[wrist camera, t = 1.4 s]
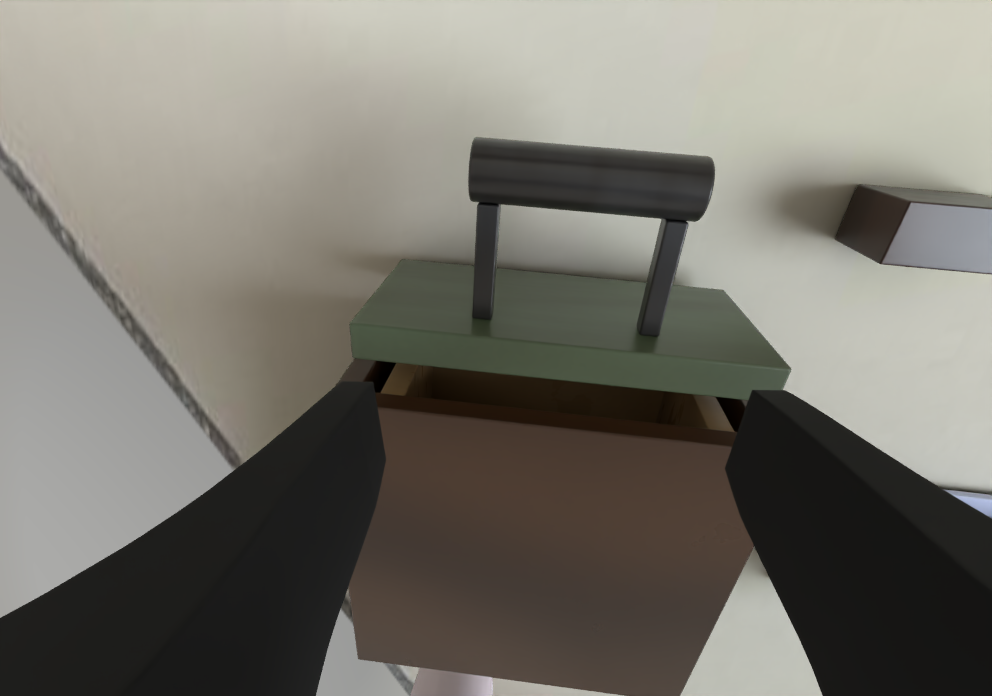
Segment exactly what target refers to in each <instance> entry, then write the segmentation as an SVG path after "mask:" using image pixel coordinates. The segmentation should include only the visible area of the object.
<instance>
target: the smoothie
mask: <svg viewBox="0 0 992 696" xmlns="http://www.w3.org/2000/svg"><path fill="white" fill-rule="evenodd" d="M410 696H493V678H492V677H485V676H478V675H471V674H463V673H456V672H449V671H441V670H434V669H427V668H419V671H418V674H417V677H416V680H415V683H414V686H413V689H412V692H411V695H410Z"/></svg>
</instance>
